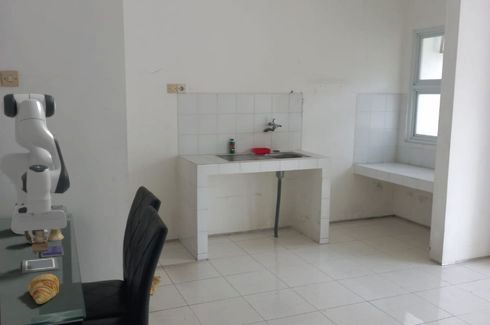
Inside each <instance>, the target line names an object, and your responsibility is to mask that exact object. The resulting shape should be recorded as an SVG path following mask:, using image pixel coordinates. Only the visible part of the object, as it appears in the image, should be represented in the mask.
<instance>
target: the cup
mask: <svg viewBox="0 0 490 325" xmlns="http://www.w3.org/2000/svg"><path fill="white" fill-rule="evenodd" d="M24 232H25V234H24V237H25V240H26V241H28V244H29V245H32V241H31V236H30V235H29V234H28V231H24ZM32 235H33V236H35V230H32Z"/></svg>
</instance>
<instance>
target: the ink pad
mask: <svg viewBox="0 0 490 325" xmlns="http://www.w3.org/2000/svg"><path fill="white" fill-rule="evenodd" d="M60 256H65V253H64V248H63V246H62V245H57V246H55V245H53V246H48V251H43V252H40V258H41V257H42V258H53V257H60Z"/></svg>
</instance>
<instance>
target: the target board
mask: <svg viewBox="0 0 490 325" xmlns="http://www.w3.org/2000/svg"><path fill="white" fill-rule="evenodd" d="M21 264H22V268H21V273H22V274H29V273H30V274H31V273H32V274H33V273H42V272H50V271H58V270H59V263H58V256H52V257H42V258H36V259H23V260H22V263H21Z"/></svg>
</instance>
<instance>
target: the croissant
mask: <svg viewBox="0 0 490 325" xmlns="http://www.w3.org/2000/svg"><path fill="white" fill-rule="evenodd" d="M27 290H28V292H29V295H30V296H32V298H33V301H35V303H36V304H38V305H41V304H45V303H47V302H49V301H50V300H51V299H53V298H54V297H55V296H57V295H58V294H59V292H60V281H59V278H58V277H57V276H56V275H55V274H52V273H50V272H47V273H42V274H40V275H37V276H35V277H34V278H33V279H32V280H31V281H29V283H28V284H27Z"/></svg>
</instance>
